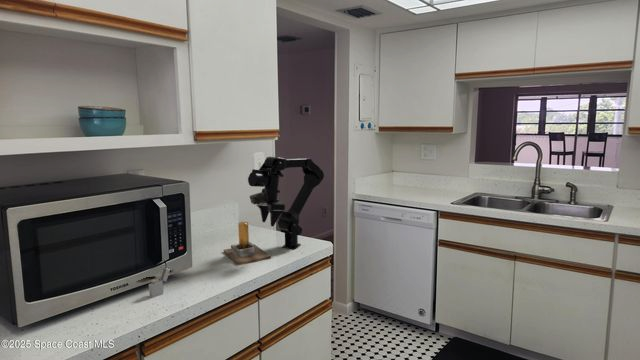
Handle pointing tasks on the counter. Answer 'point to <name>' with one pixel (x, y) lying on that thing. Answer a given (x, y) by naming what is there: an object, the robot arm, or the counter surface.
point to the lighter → (158, 284)
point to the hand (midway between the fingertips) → (267, 224)
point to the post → (243, 235)
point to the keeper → (246, 254)
